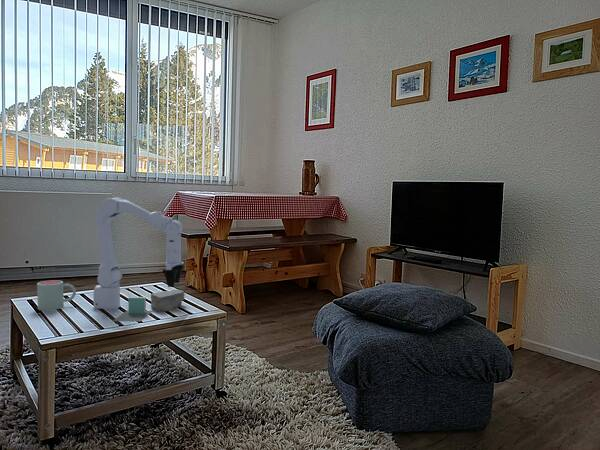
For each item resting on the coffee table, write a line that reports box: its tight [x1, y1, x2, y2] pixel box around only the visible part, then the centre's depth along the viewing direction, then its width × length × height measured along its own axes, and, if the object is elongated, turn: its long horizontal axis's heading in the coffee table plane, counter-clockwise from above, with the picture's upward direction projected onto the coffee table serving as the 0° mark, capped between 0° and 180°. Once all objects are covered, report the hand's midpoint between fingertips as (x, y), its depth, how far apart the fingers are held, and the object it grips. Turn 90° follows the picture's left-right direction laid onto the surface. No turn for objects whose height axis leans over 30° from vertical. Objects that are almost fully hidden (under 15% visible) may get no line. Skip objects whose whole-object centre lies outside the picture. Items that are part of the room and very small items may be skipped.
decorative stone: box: [150, 289, 186, 313], centre depth 192 cm, size 15×7×10 cm
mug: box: [36, 279, 77, 312], centre depth 192 cm, size 14×9×10 cm
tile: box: [127, 296, 147, 314], centre depth 183 cm, size 6×2×6 cm, turn 89°
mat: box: [112, 309, 153, 323], centre depth 180 cm, size 10×14×1 cm
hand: (173, 284), depth 191 cm, fingers open, 7 cm apart
